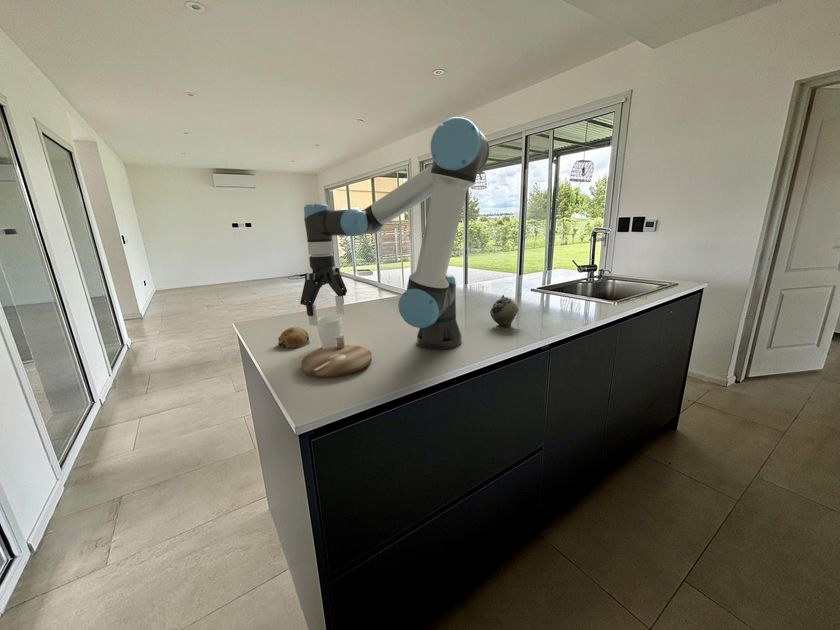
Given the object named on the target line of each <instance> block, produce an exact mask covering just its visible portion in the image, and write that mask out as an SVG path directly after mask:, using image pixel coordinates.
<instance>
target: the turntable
mask: <svg viewBox="0 0 840 630" xmlns="http://www.w3.org/2000/svg"><path fill="white" fill-rule="evenodd" d="M336 339H337V346H334V347H328V348H324V349H322V348H320V349H318V350H315V351H313V352H311V353H309V354H307V355H306V356H304V358H302V360H301V367H302V371H304V372H305V373H306V374H308V375H311V376H314V377H315V376H316V377H337V376H344V375H349V374H352V373H355V372H358V371H359V370H362V369H364V368H365V367H367V366H368V365H370V363H371V362H372V360H373V357H372V351H371V350H369V349H368V348H366V347H364V346H360V345H351V344H349V345H348V344H347V345H346V344H345V337H344V335H342V336H337V338H336Z"/></svg>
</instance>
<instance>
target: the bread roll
mask: <svg viewBox="0 0 840 630" xmlns="http://www.w3.org/2000/svg"><path fill="white" fill-rule="evenodd" d="M277 339H278V343H277V345H278V346H279V347H281V348H282V349H296V348H300V347H304V346H306V345H309V344H310V336H309V334H308V331H307V330H305V329H304V328H302V327H300V326H293V327H289V328H287V329H285V330H284V331H283V332H281V334H280V335H279V337H278V338H277Z"/></svg>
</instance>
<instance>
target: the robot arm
mask: <svg viewBox="0 0 840 630" xmlns="http://www.w3.org/2000/svg"><path fill="white" fill-rule="evenodd" d="M429 146H430V152H431V153H430V154H431V157H432V164H430V165H429V166H427V167H426V168H425V169H422V170H421V171H420V172H418V173H417V174H415V175H413V176H412V177H411V178H409V179H408V180H406V181H404V182H403V183H402V184H400V185H399V186H397V187H396V188H394V189H392V190H391V191H390V192H389V193H387V194H385V195H384V196H383V197H380V198H379V199H377V200H375V202H373V203H372V204H371V205H368V206H367V207H366V208H364V209H355V208H353V209H352V208H350V209H338V210H331V209H330V207H329V205H328V204H326V203H309V204H305V206H304V207H303V214H304V218H303V221H304V225H305V231H306V240H307V241H306V242H307V249H308V255H310V256H309V257H308V260H309V267H310V269H312V273H311V272H310V273H309V272H305V273H304V282H303V283H304V284H303V287H302V288H303V289H302V292H301V293H302V294H301V298H300V301H299V304H300V305H302V306H305V308H306V315H307V316H308V323H309V326H315V327H318V326H317V325H318V322H317V319H318V315H317V307H316V305H315V301H316V299H317V297H318V294H319V292H320V289H321V288H322V287H323V286H325V285H329V287H330V288H331V290H332V291H333V292H334V293H335V294H336V295H335V296H334V298H335V299H334V300H335V307H336V308H335V309H336V314H337V315H343V316H344V315H345V307H344V306H345V305H344V304H345V301H344V297H345V296H346V295H347V293H348V288H347V286H346V285H345V282H344V280H343V277H342V275H341V272H340V268H339V267H335V259H334V255H333V254H334V246H333V240H332V239H333V237H335V236H336V237H337V236H338V237H339V236H340V237H345V236H346V237H348V236H349V237H358V236H363V235H372V234H375V233H378V232H380V231H381V230H382V228H383V226H385V225H387V224H388V223H390V222H391V221H393V220H394V219H396V218H397V217H400V216H401V215H403V214H404V213H407V212H408V211H410V210H411V209H413V208H415V207H416V206H417V205H419V204H421V203H422V202H424V201H426V200H427V199H428V198H430V203H429V208H428V213H427V217H426V223H425V227H424V232H423V237H422V240H421V245H420V251H419V254H418V261H417V264H416V269H415V271H414V272H413V273H411V274H409V277H408V282H407V286H406V290H405V291H404V292H403V293H402V294H401V296H400V298H398V299H399V301H398V307H397V308H398V313H399V314H400V316H401V317H402V319H403V321H404V322H406V324H408V325H409V326H411V327H413V328H417V329H418V332H417V335H416V343H417V345H418V346H419V347H421V348H423V349H428V350H437V351H438V350H447V349H452V348H456V347H458V346H460V345H461V344H462V341H463V339H462V333H461V330H460V327H459V324H458V321H457V294H456V293H457V291H456V287H457V284H456V277H455V276H454V275H451V274H449V275H448V274H447V273H448V269H449V264H450V261H451V257H452V253H453V249H454V244H455V241H456V236H457V232H458V227H459V224H460V220H461V216H462V212H463V207H464V203H465V200H466V195H467V192H468V190H469V189H470V188H471V187H473V186H475V184H476V179H477V175H478V173H479V172H481V170H483V169H484V167H485V166H486V164H487V163H488V161H489V156H490V143H489V141H488V139H487V137H486V136H485V134H484V133H482V131H481V130H480V128H479V127H478V126H477V124H476V123H474V122H473V121H472V120H470V119H468V118H465V117H461V116H454V117H450V118H447V119H445V120H444V121H443V122H442V123H440V124H439V125H437V127H436V128H435V131H434V132H433V134H432V136H431V140H430V145H429Z"/></svg>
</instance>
